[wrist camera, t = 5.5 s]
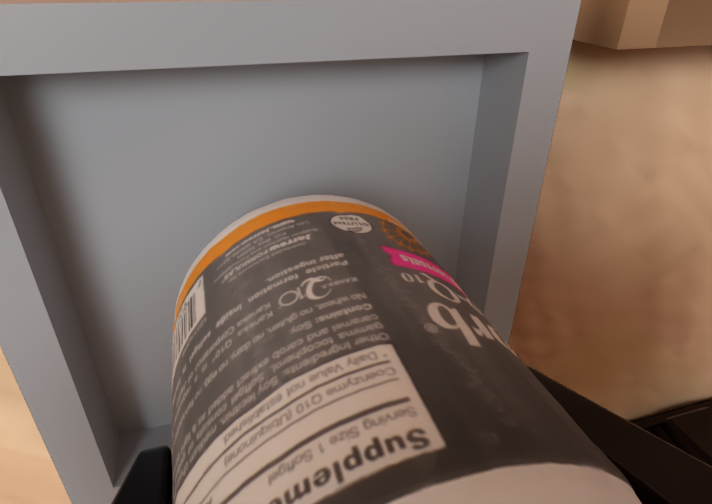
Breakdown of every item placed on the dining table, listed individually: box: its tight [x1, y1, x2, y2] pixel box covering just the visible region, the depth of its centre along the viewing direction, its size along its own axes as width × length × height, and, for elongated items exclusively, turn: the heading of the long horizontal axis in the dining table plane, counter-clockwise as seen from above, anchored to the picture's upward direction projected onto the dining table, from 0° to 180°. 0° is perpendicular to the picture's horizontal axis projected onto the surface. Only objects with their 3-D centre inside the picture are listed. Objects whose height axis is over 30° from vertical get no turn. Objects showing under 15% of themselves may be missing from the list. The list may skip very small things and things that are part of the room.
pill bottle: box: [171, 195, 642, 504], centre depth 7 cm, size 6×6×10 cm
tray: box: [0, 0, 581, 504], centre depth 12 cm, size 12×12×2 cm
